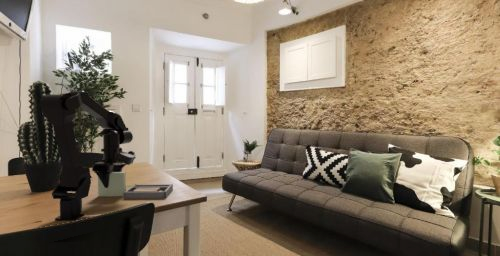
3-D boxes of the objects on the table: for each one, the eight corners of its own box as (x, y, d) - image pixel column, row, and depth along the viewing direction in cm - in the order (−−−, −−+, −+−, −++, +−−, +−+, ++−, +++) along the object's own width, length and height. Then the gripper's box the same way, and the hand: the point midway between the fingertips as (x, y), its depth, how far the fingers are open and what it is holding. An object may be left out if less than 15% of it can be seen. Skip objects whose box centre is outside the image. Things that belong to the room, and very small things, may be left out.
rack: (165, 199, 103) (165, 191, 103) (123, 200, 102) (123, 192, 102) (172, 190, 115) (172, 184, 115) (135, 191, 114) (135, 184, 114)
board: (124, 197, 106) (123, 172, 105) (98, 197, 105) (97, 172, 104) (125, 196, 107) (125, 171, 107) (100, 196, 107) (99, 172, 106)
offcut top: (156, 193, 105) (156, 190, 105) (133, 194, 104) (133, 191, 104) (159, 190, 110) (159, 187, 110) (137, 190, 109) (137, 187, 109)
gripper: (122, 148, 96) (123, 191, 97) (140, 143, 115) (140, 179, 116) (90, 148, 96) (91, 191, 96) (114, 143, 114) (114, 179, 115)
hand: (112, 184), depth 106 cm, fingers open, 9 cm apart
